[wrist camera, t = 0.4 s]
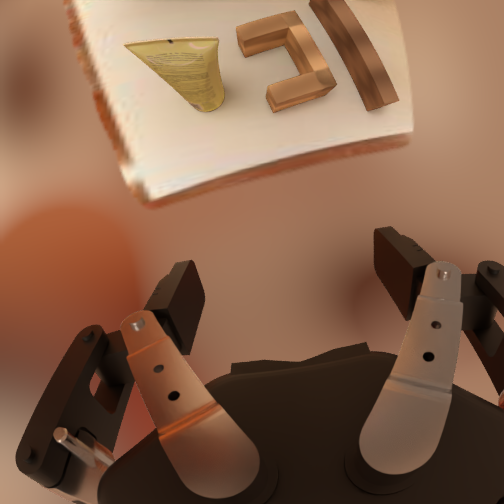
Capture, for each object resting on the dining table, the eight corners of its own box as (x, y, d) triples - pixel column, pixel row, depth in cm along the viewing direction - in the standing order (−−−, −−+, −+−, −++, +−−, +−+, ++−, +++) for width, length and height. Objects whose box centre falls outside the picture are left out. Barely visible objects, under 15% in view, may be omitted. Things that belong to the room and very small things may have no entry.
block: (238, 44, 30) (235, 27, 24) (289, 29, 29) (294, 10, 23) (273, 112, 33) (276, 104, 28) (325, 95, 32) (337, 84, 27)
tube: (215, 71, 31) (182, 1, 13) (236, 96, 33) (218, 36, 14) (182, 94, 32) (121, 44, 14) (202, 119, 34) (152, 82, 15)
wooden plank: (308, 4, 27) (315, -15, 21) (322, 2, 27) (331, -17, 21) (367, 111, 33) (384, 104, 27) (380, 107, 32) (399, 100, 27)
